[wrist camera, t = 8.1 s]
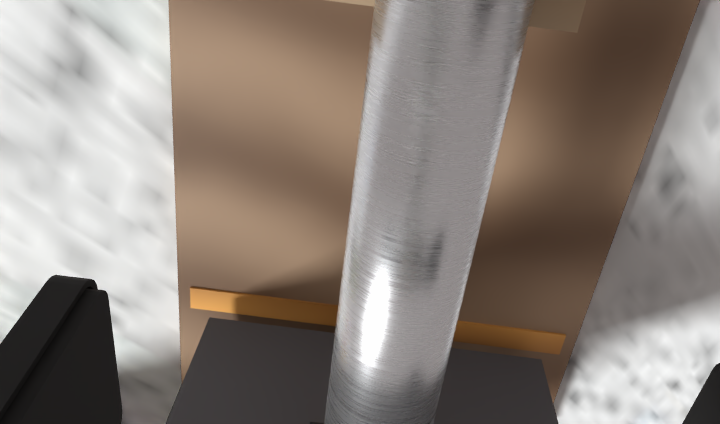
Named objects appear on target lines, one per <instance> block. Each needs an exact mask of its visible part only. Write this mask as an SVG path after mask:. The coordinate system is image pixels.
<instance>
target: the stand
mask: <svg viewBox="0 0 720 424" xmlns="http://www.w3.org/2000/svg"><path fill="white" fill-rule="evenodd" d="M699 2H700V0H535V1H534V5H533V9H532V13H531V17H530V21H529V26H528V30H527V34H526V38H525V42H524V46H523V51H522V55H521V59H520V63H519V67H518V71H517V76H516V80H515V84H514V88H513V92H512V96H511V101H510V105H509V109H508V113H507V117H506V121H505V126H504V130H503V134H502V138H501V142H500V146H499V151H498V155H497V159H496V163H495V167H494V171H493V176H492V180H491V184H490V188H489V192H488V196H487V201H486V205H485V209H484V213H483V217H482V221H481V226H480V230H479V234H478V238H477V242H476V246H475V251H474V255H473V259H472V263H471V267H470V271H469V276H468V280H467V284H466V288H465V292H464V296H463V301H462V305H461V309H460V313H459V317H458V321H457V326H456V330H455V334H454V338H453V342H452V346H451V348H456V349H464V350H472V351H480V352H488V353H496V354H504V355H512V356H520V357H527V358H535V359H541V360H542V363H543V367H544V371H545V375H546V379H547V382H548V386H549V390H550V394H551V397H552V401H553V403H554V400H555V397H556V394H557V392H558V389H559V386H560V383H561V381H562V378H563V375H564V372H565V370H566V367H567V364H568V361H569V359H570V356H571V353H572V350H573V348H574V345H575V342H576V339H577V337H578V334H579V331H580V329H581V326H582V323H583V320H584V318H585V315H586V312H587V309H588V307H589V304H590V301H591V298H592V296H593V293H594V290H595V287H596V285H597V282H598V279H599V276H600V274H601V271H602V268H603V265H604V263H605V260H606V257H607V254H608V252H609V249H610V246H611V243H612V241H613V238H614V235H615V232H616V230H617V227H618V224H619V221H620V219H621V216H622V213H623V210H624V208H625V205H626V202H627V199H628V197H629V194H630V191H631V188H632V186H633V183H634V180H635V177H636V175H637V172H638V169H639V166H640V164H641V161H642V158H643V155H644V153H645V150H646V147H647V144H648V142H649V139H650V136H651V133H652V131H653V128H654V125H655V122H656V120H657V117H658V114H659V111H660V109H661V106H662V103H663V100H664V98H665V95H666V92H667V89H668V87H669V84H670V81H671V78H672V76H673V73H674V70H675V67H676V65H677V62H678V59H679V56H680V54H681V51H682V48H683V46H684V43H685V40H686V37H687V35H688V32H689V29H690V26H691V24H692V21H693V18H694V15H695V13H696V10H697V7H698V4H699ZM374 5H375V0H169V27H170V57H171V86H172V115H173V145H174V174H175V203H176V233H177V262H178V291H179V320H180V350H181V379H182V383H183V380H184V378H185V375H186V373H187V370H188V368H189V366H190V363H191V361H192V358H193V356H194V353H195V351H196V349H197V346H198V344H199V341H200V339H201V336H202V334H203V331H204V329H205V327H206V324H207V322H208V319H209V317H212V318H220V319H227V320H235V321H243V322H251V323H259V324H267V325H275V326H283V327H291V328H298V329H306V330H314V331H322V332H330V333H335V329H336V320H337V312H338V304H339V295H340V287H341V279H342V271H343V262H344V254H345V246H346V237H347V229H348V221H349V213H350V204H351V196H352V188H353V179H354V171H355V163H356V154H357V146H358V138H359V130H360V121H361V113H362V105H363V96H364V88H365V80H366V72H367V63H368V55H369V47H370V38H371V30H372V22H373V13H374Z"/></svg>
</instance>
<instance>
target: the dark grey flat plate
mask: <svg viewBox="0 0 720 424" xmlns="http://www.w3.org/2000/svg"><path fill="white" fill-rule="evenodd" d="M334 337H335V333H330V332H322V331H314V330H306V329H298V328H291V327H283V326H275V325H267V324H259V323H251V322H243V321H235V320H227V319H220V318H212V317H209V319H208V322H207V324H206V327H205V329H204V331H203V334H202V336H201V339H200V341H199V344H198V346H197V349H196V351H195V353H194V356H193V358H192V361H191V363H190V366H189V368H188V370H187V373H186V375H185V378H184V380H183V383H182V385H181V388H180V390H179V392H178V395H177V397H176V400H175V402H174V405H173V407H172V409H171V412H170V414H169V417H168V419H167V422H166V424H324V420H325V412H326V403H327V395H328V387H329V378H330V370H331V362H332V354H333V345H334ZM433 424H558V420H557V416H556V413H555V409H554V405H553V401H552V397H551V394H550V390H549V386H548V382H547V379H546V375H545V371H544V367H543V363H542V360H541V359H535V358H527V357H520V356H512V355H504V354H496V353H488V352H480V351H472V350H464V349H456V348H451V351H450V355H449V359H448V363H447V367H446V371H445V376H444V380H443V384H442V388H441V392H440V396H439V401H438V405H437V409H436V413H435V417H434V421H433Z"/></svg>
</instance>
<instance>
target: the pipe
mask: <svg viewBox="0 0 720 424" xmlns="http://www.w3.org/2000/svg"><path fill="white" fill-rule="evenodd" d="M534 1H535V0H375V5H374V13H373V22H372V30H371V38H370V47H369V55H368V63H367V72H366V80H365V88H364V96H363V105H362V113H361V121H360V130H359V138H358V146H357V154H356V163H355V171H354V179H353V188H352V196H351V204H350V213H349V221H348V229H347V237H346V246H345V254H344V262H343V271H342V279H341V287H340V295H339V304H338V312H337V320H336V329H335V337H334V345H333V354H332V362H331V370H330V378H329V387H328V395H327V403H326V412H325V420H324V424H433V421H434V417H435V413H436V409H437V405H438V401H439V396H440V392H441V388H442V384H443V380H444V376H445V371H446V367H447V363H448V359H449V355H450V351H451V346H452V342H453V338H454V334H455V330H456V326H457V321H458V317H459V313H460V309H461V305H462V301H463V296H464V292H465V288H466V284H467V280H468V276H469V271H470V267H471V263H472V259H473V255H474V251H475V246H476V242H477V238H478V234H479V230H480V226H481V221H482V217H483V213H484V209H485V205H486V201H487V196H488V192H489V188H490V184H491V180H492V176H493V171H494V167H495V163H496V159H497V155H498V151H499V146H500V142H501V138H502V134H503V130H504V126H505V121H506V117H507V113H508V109H509V105H510V101H511V96H512V92H513V88H514V84H515V80H516V76H517V71H518V67H519V63H520V59H521V55H522V51H523V46H524V42H525V38H526V34H527V30H528V26H529V21H530V17H531V13H532V9H533V5H534Z"/></svg>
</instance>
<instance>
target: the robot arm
mask: <svg viewBox="0 0 720 424" xmlns="http://www.w3.org/2000/svg"><path fill="white" fill-rule="evenodd" d="M121 420H122V404H121V396H120V388H119V380H118V371H117V363H116V355H115V347H114V339H113V331H112V323H111V315H110V307H109V299H108V294H107V292H106V291H104V290H98V289H97V284H96V283H95V281H94V280H92V279H85V278H77V277H68V276H60V275H54V276H52V277H50V278H49V280H48V281H47V282H46V283H45V284H44V286H43V287H42V288H41V290H40V291H39V293H38V294H37V295H36V297H35V298H34V299H33V301H32V302H31V303H30V305H29V306H28V307H27V309H26V310H25V311H24V313H23V314H22V316H21V317H20V318H19V320H18V321H17V322H16V324H15V325H14V326H13V328H12V329H11V330H10V332H9V333H8V334H7V336H6V337H5V339H4V340H3V341H2V343H1V344H0V424H121ZM682 424H720V363H719V364H717V365H716V366H715V367H714V368H713V370H712V371H711V373H710V375H709V377H708V379H707V380H706V382H705V384H704V386H703V388H702V389H701V391H700V393H699V395H698V397H697V398H696V400H695V402H694V404H693V406H692V407H691V409H690V411H689V413H688V414H687V416H686V418H685V420H684V422H683V423H682Z"/></svg>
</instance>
